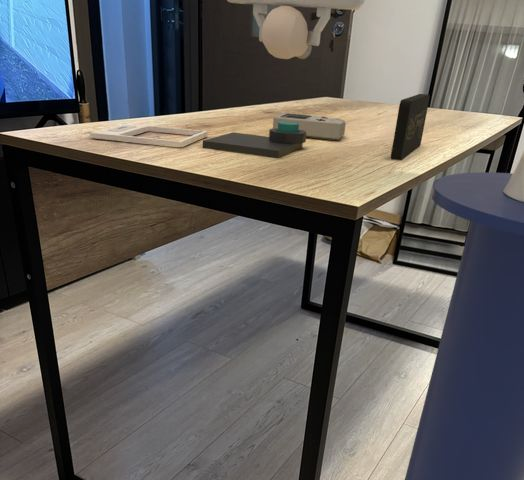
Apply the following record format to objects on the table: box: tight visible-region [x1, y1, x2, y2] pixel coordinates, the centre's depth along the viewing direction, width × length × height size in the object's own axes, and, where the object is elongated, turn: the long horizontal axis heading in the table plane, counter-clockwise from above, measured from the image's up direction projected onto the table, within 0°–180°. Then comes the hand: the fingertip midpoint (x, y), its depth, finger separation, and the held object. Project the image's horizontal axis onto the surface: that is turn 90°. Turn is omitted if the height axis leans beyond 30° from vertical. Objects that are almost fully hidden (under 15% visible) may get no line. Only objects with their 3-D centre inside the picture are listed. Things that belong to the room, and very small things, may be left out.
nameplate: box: [390, 93, 431, 161], centre depth 104 cm, size 21×2×10 cm, turn 156°
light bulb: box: [261, 6, 313, 60], centre depth 77 cm, size 7×7×11 cm
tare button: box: [277, 122, 299, 133], centre depth 102 cm, size 4×4×2 cm
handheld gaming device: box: [272, 112, 347, 141], centre depth 117 cm, size 9×15×4 cm, turn 74°
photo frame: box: [89, 122, 209, 148], centre depth 104 cm, size 15×1×18 cm
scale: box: [202, 127, 307, 159], centre depth 101 cm, size 16×14×3 cm
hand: (288, 43), depth 78 cm, fingers closed on light bulb, 6 cm apart
